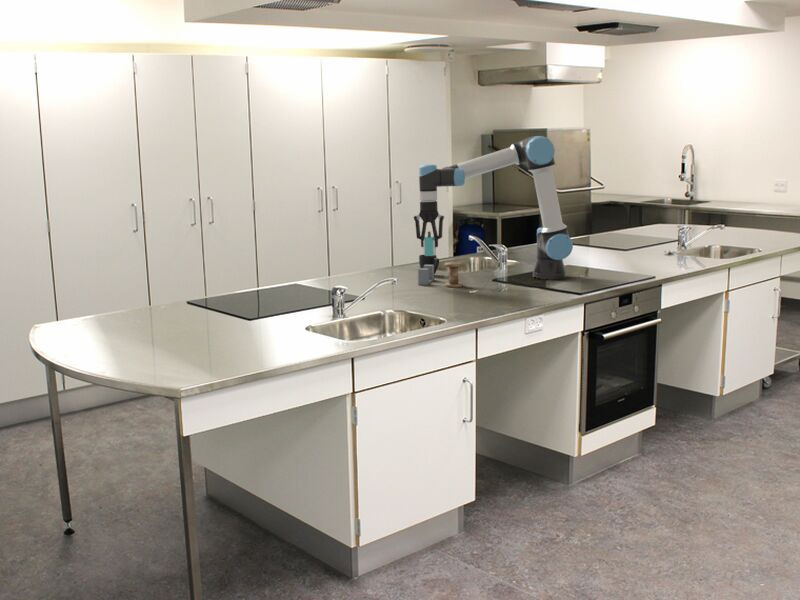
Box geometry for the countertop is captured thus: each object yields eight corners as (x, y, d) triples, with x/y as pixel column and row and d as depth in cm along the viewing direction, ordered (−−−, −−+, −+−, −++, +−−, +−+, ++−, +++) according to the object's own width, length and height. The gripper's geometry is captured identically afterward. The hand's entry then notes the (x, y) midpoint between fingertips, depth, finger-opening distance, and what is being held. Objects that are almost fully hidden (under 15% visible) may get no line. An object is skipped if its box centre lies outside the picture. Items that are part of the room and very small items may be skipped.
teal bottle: (434, 254, 384) (433, 231, 382) (432, 255, 381) (432, 232, 379) (426, 254, 385) (426, 231, 383) (425, 255, 381) (424, 232, 379)
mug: (430, 278, 404) (430, 258, 403) (415, 275, 414) (415, 255, 412) (445, 276, 409) (444, 256, 407) (430, 273, 419) (429, 253, 417)
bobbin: (464, 284, 388) (464, 262, 386) (461, 287, 380) (460, 265, 378) (446, 284, 390) (446, 261, 388) (443, 287, 382) (442, 264, 380)
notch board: (434, 279, 401) (433, 264, 400) (427, 285, 388) (427, 269, 386) (425, 279, 402) (425, 264, 401) (418, 285, 389) (418, 269, 388)
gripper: (449, 199, 380) (450, 253, 384) (411, 200, 384) (413, 253, 388) (445, 201, 373) (446, 256, 377) (407, 201, 376) (409, 255, 381)
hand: (429, 254), depth 383 cm, fingers closed on teal bottle, 3 cm apart
